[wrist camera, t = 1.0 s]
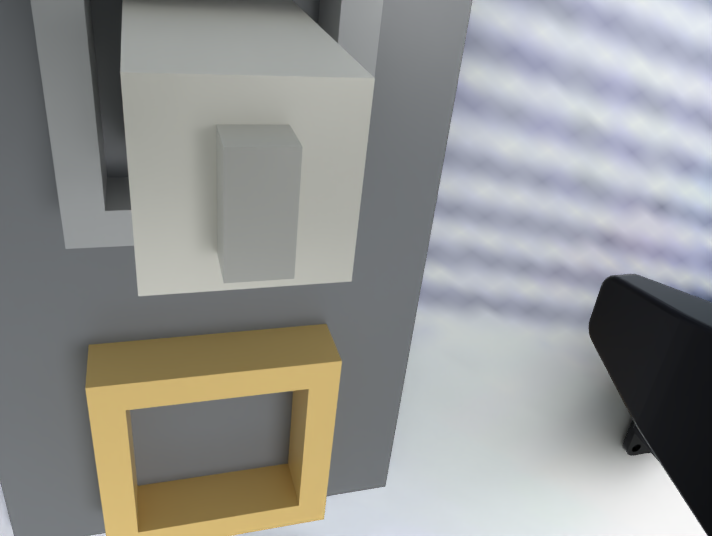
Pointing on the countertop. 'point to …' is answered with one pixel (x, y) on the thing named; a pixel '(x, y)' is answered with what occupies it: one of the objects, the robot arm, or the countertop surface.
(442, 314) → the countertop surface
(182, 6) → the plug
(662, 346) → the robot arm
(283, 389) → the multicoloured flat piece
